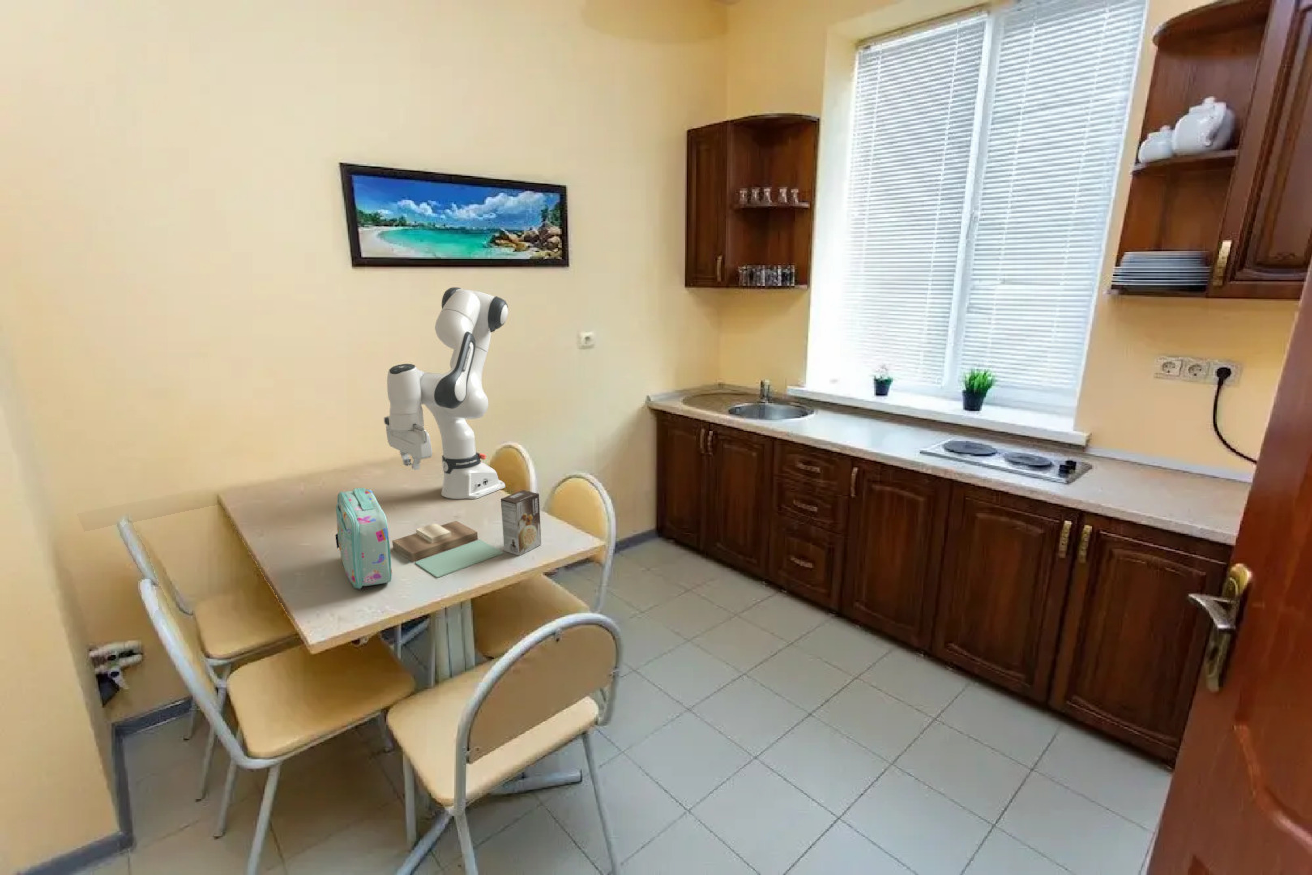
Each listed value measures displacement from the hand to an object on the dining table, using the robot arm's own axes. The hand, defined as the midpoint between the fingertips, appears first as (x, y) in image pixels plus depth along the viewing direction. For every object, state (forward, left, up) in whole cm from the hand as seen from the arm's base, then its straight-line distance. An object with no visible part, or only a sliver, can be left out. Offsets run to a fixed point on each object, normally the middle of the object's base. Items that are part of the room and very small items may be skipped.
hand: (411, 467), depth 177 cm
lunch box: (+21, +13, -21) cm, 33 cm away
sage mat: (0, +24, -21) cm, 32 cm away
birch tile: (0, +10, -18) cm, 20 cm away
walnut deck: (0, +11, -21) cm, 24 cm away
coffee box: (-16, +31, -21) cm, 41 cm away
